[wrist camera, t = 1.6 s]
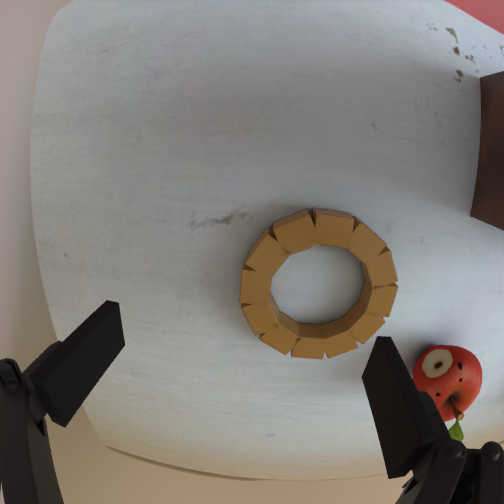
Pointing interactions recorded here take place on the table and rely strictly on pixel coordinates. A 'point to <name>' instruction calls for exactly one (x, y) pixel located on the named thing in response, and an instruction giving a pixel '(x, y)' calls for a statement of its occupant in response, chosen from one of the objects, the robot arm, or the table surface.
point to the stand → (491, 154)
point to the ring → (297, 239)
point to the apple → (449, 381)
